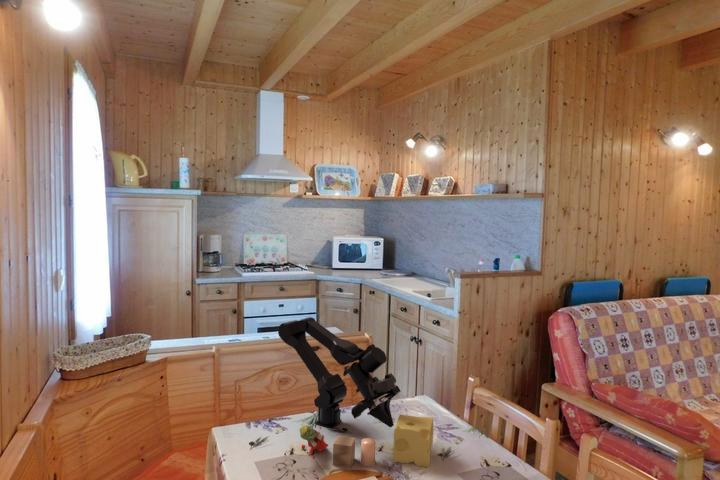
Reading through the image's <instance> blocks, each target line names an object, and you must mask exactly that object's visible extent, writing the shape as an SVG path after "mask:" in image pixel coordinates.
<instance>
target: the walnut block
mask: <svg viewBox="0 0 720 480" xmlns="http://www.w3.org/2000/svg"><path fill="white" fill-rule="evenodd" d="M332 444H333V445H332V465H333V466H338V467H344V468H351V467H352V465H353V463H354V461H355V457H356V455H355V453H356V437H351V436H345V435H337V436H336V438H335V440H334V442H333V443H332Z"/></svg>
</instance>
